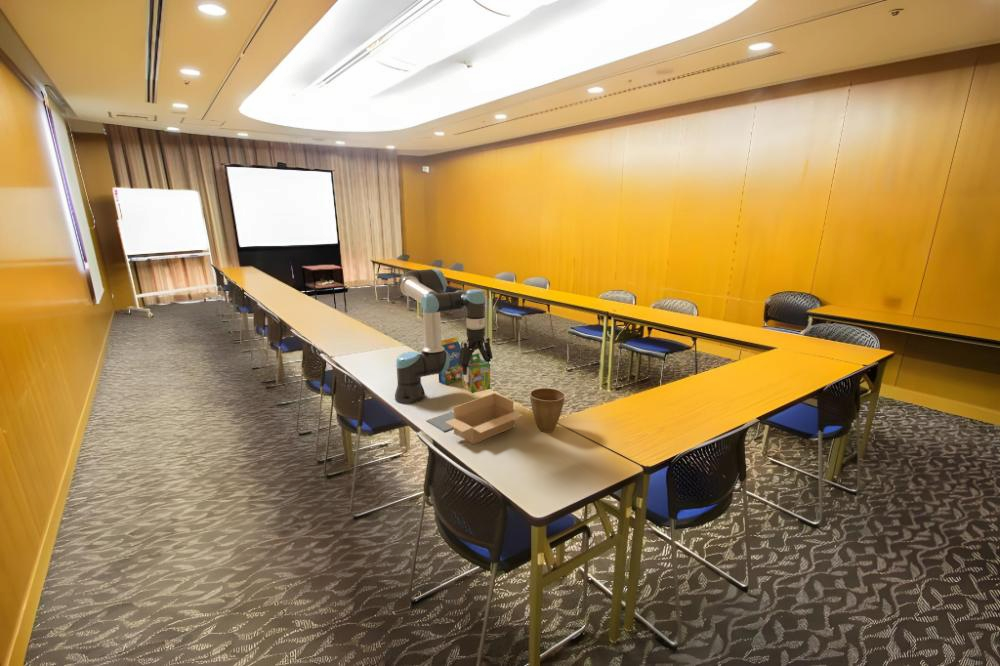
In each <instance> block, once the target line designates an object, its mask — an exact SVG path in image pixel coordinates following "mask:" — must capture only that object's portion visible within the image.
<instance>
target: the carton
mask: <svg viewBox="0 0 1000 666" xmlns="http://www.w3.org/2000/svg"><path fill="white" fill-rule="evenodd" d="M452 407H453V413H454V419H452V420H449V421H446V422H445V423H446V424H448V425H450V426H452V427H453V428H454V429H453V434H455V435H456V436H458V437H460V438H462V439H464V440H465V441H467V442H468V443H471V444H472V445H474V444H477V443H479V442H482V441H484V440H486V439H488V438H491V437H494V436H496V435H499V434H500V433H504V432H505V431H507V430H510V429H512V428H515V420H517V419H520V418H522V417H523V415H522V414H520V413H518V412H516V411H514V400H512V399H510V398H507V397H506V396H505V397H504V396H502V395H500V394H498V393H496V392H494V393H491V394H488V395H485V396H482V397H479V398H476V399H473V400H470V401H467V402H464V403H461V404H459V405H455V406H452Z"/></svg>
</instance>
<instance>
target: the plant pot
mask: <svg viewBox="0 0 1000 666" xmlns="http://www.w3.org/2000/svg"><path fill="white" fill-rule="evenodd" d="M529 397H530V403H531V405H530V406H531V410H532V415H533V418H534V419H533V420H534V422H535V425H536V427H537V430H538V431H540V432H543V433H551V432H553V431H555V429H556V427H557V424H558V423H559V420H560V417H561V413H562V410H563V407H564V403H565V398H566V394H565V392H563V391H561V390H558V389H555V388H546V387H542V388H536V389H533V390H531V391H530V393H529Z"/></svg>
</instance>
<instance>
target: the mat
mask: <svg viewBox="0 0 1000 666" xmlns="http://www.w3.org/2000/svg"><path fill="white" fill-rule="evenodd" d="M452 419H454V411H449V412H446V413H443V414H441V415H437V416H434V417H432V418H428V419H426V422H427V423H428V424H429V425H431V426H433V427H435V428H437V429H439V430H440V431H442V432H444V433H446V432H449V431H452V430H454V428H453V427H452V426H450V425H448V424H446V423H445V422H446V421H449V420H452Z"/></svg>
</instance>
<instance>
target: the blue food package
mask: <svg viewBox="0 0 1000 666" xmlns="http://www.w3.org/2000/svg"><path fill="white" fill-rule="evenodd" d="M441 344H442V346H443V347H444V348H445V350H446V351H447V352H448V354H449V367H448V369H447V371H446V372H444V373H440V374H438V382H439V383H440V384H442V385H444V384H445V385H450V384H453V383H456V382H459V381H462V367H461V366H458V362H459V357H460V352H461V343H459V337H458V336H455V337H451V338H446V339H441Z"/></svg>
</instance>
